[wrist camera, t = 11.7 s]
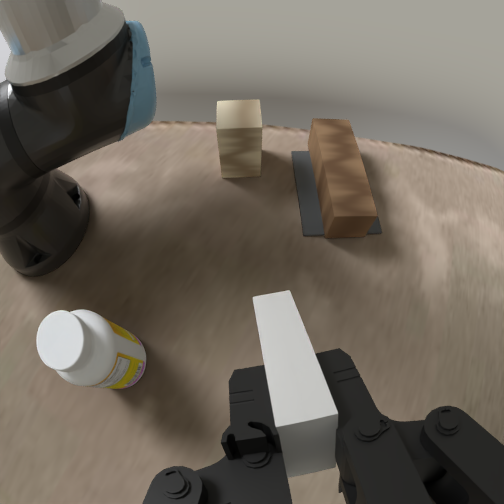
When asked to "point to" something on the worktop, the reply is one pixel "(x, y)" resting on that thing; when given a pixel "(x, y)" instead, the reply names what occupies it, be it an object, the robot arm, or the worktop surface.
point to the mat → (312, 197)
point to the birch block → (239, 138)
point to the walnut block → (340, 179)
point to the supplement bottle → (90, 350)
